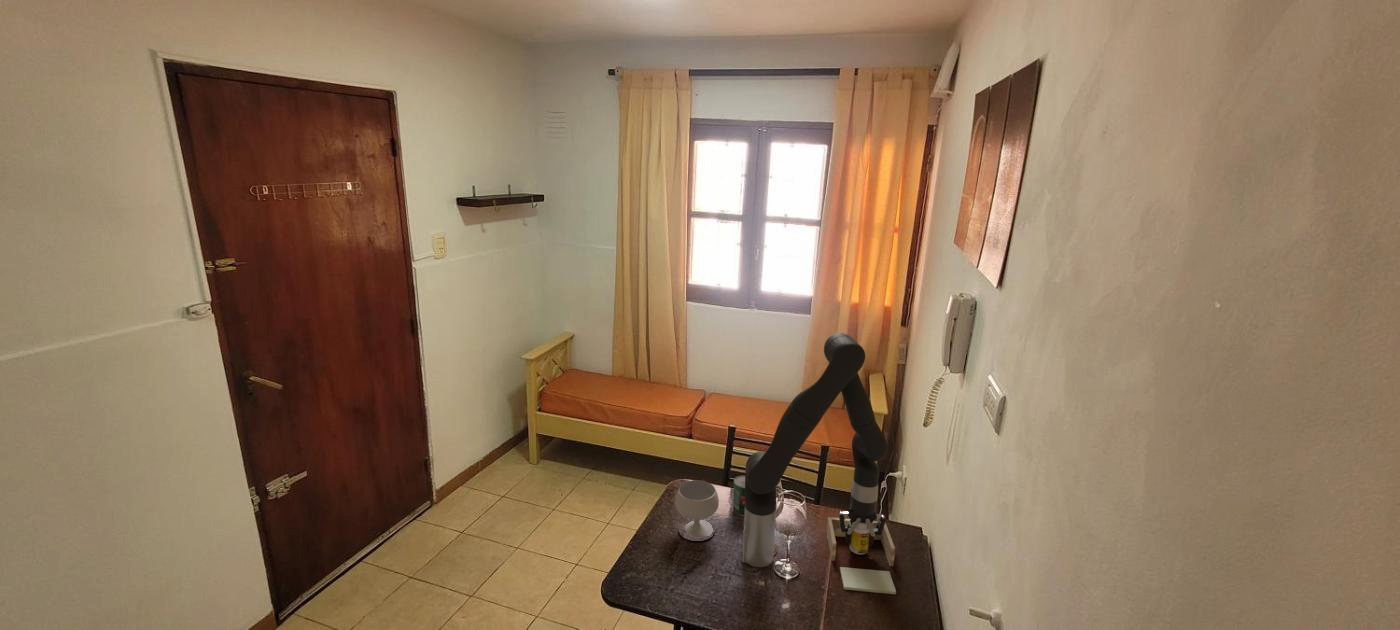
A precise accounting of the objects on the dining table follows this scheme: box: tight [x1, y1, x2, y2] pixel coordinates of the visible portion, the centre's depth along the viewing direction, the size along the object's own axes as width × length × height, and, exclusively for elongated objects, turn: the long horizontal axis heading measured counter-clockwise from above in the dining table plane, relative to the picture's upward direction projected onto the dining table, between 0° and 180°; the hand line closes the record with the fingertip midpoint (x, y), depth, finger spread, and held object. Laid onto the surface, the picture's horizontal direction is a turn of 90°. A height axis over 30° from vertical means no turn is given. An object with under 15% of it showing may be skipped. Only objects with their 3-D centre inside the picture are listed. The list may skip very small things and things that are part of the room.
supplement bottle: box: [848, 522, 870, 556], centre depth 160 cm, size 6×6×10 cm
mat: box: [839, 566, 897, 595], centre depth 149 cm, size 14×8×1 cm, turn 83°
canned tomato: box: [732, 475, 745, 517], centre depth 181 cm, size 8×8×11 cm
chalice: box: [674, 479, 720, 537], centre depth 169 cm, size 14×14×15 cm
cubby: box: [826, 516, 896, 567], centre depth 162 cm, size 18×13×6 cm
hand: (859, 543), depth 161 cm, fingers closed on supplement bottle, 5 cm apart
